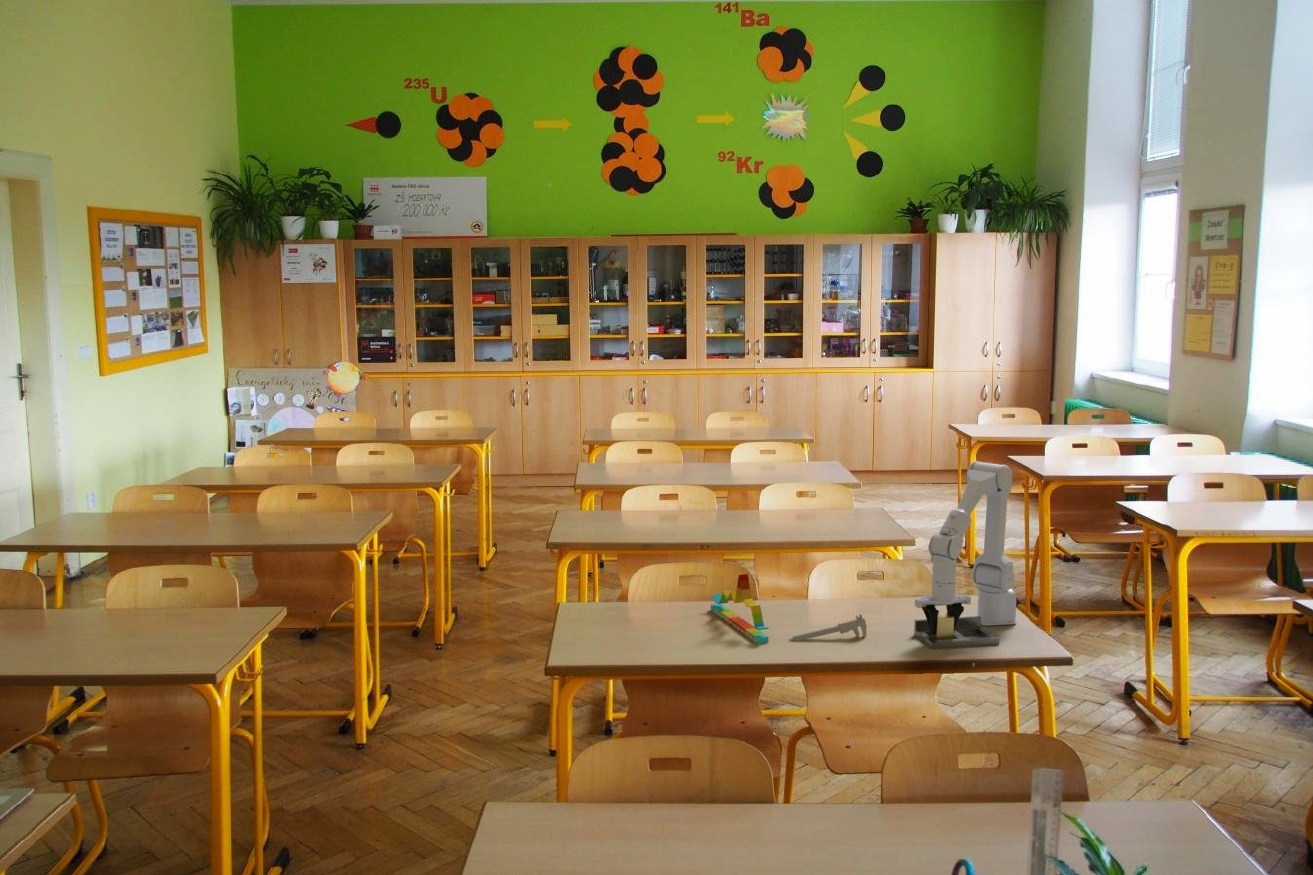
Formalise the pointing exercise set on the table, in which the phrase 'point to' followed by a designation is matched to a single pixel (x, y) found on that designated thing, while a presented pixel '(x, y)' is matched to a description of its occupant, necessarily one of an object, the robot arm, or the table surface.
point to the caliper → (835, 629)
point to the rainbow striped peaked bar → (747, 629)
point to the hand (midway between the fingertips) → (941, 632)
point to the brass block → (944, 627)
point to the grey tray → (957, 634)
